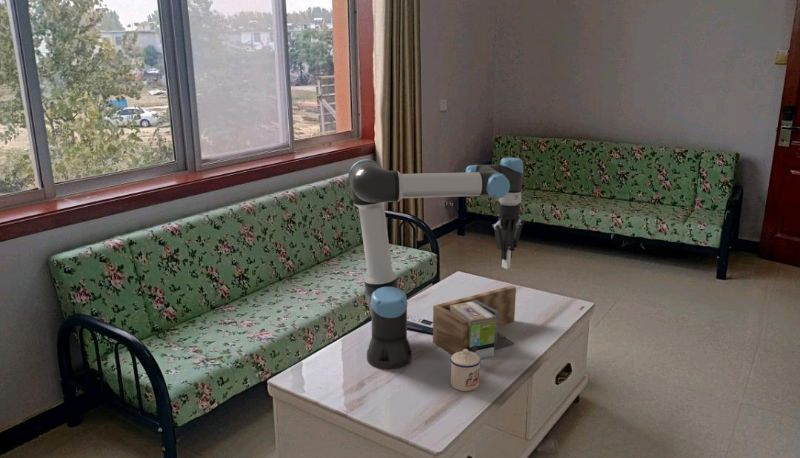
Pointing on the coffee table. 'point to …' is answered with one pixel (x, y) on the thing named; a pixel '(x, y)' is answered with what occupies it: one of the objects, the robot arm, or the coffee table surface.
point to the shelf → (454, 330)
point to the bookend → (496, 329)
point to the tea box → (477, 327)
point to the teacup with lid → (465, 370)
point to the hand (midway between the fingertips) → (505, 267)
